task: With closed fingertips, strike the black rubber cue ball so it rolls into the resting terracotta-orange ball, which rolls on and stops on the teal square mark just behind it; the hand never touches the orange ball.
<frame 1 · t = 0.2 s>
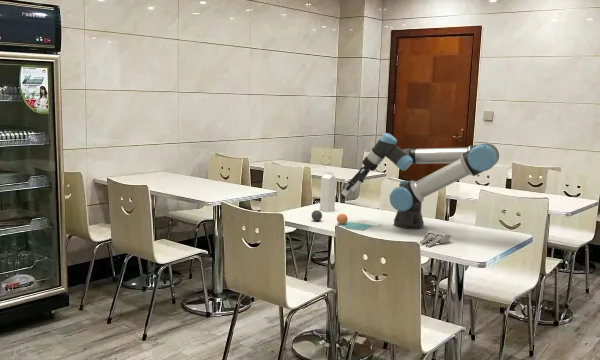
hand: (347, 192, 300), 16 cm above the table, tool tilted 35°, fingers open, 13 cm apart
milk: (327, 210, 334), on the table
mark: (354, 226, 296), on the table
grey glove: (433, 244, 268), on the table
ball a: (316, 215, 305), on the table
ball b: (342, 218, 299), on the table
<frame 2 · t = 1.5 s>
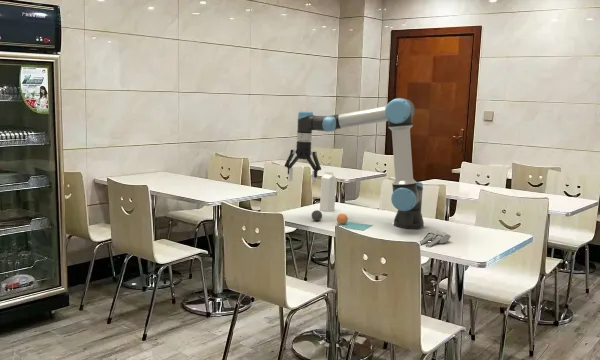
hand: (301, 182, 306), 19 cm above the table, tool pointing down, fingers open, 12 cm apart
nothing on the table moved.
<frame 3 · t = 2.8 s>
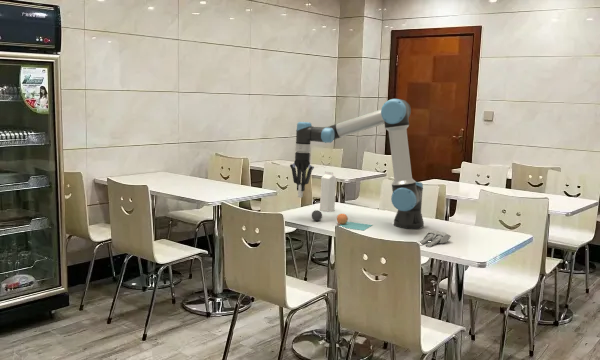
hand: (300, 197, 307), 11 cm above the table, tool pointing down, fingers closed
nothing on the table moved.
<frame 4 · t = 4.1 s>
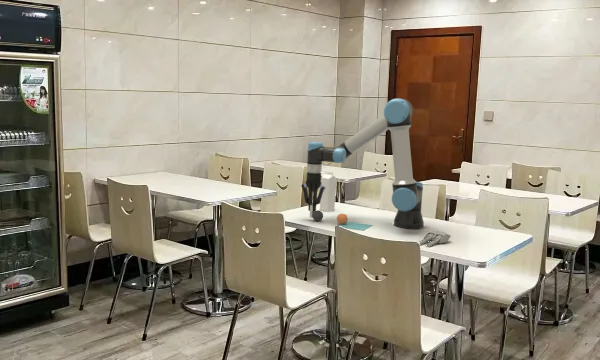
hand: (311, 217, 306), 2 cm above the table, tool pointing down, fingers closed
ball a: (317, 215, 304), on the table, touching gripper
everything else where it was.
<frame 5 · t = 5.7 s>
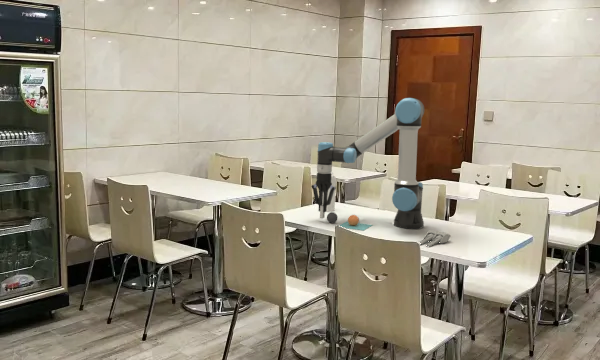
hand: (322, 217, 303), 2 cm above the table, tool pointing down, fingers closed
ball a: (332, 217, 301), on the table
ball b: (353, 220, 296), on the table
everything else where it was.
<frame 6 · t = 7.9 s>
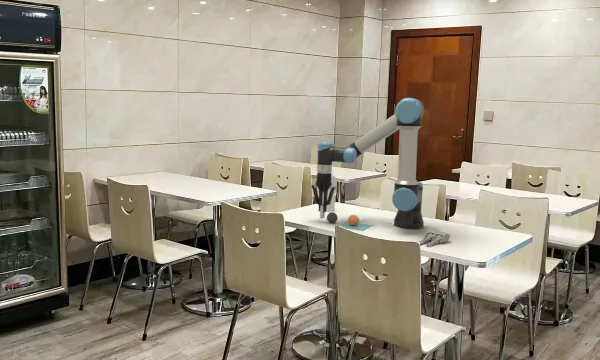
hand: (322, 217, 303), 2 cm above the table, tool pointing down, fingers closed
nothing on the table moved.
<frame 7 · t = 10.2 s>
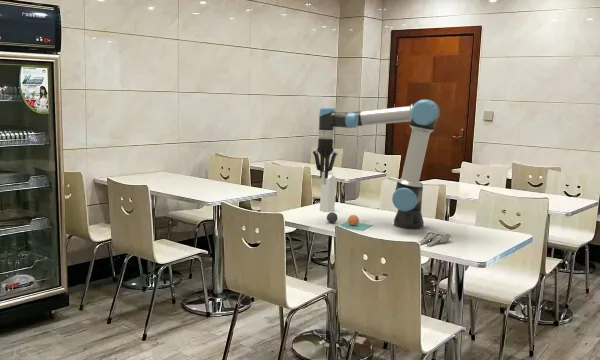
hand: (323, 184, 301), 19 cm above the table, tool pointing down, fingers closed
nothing on the table moved.
at the end: ball b 1.0 cm from the mark (horizontally); ball b never touched the robot; ball a first touched ball b at 4.5 s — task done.
